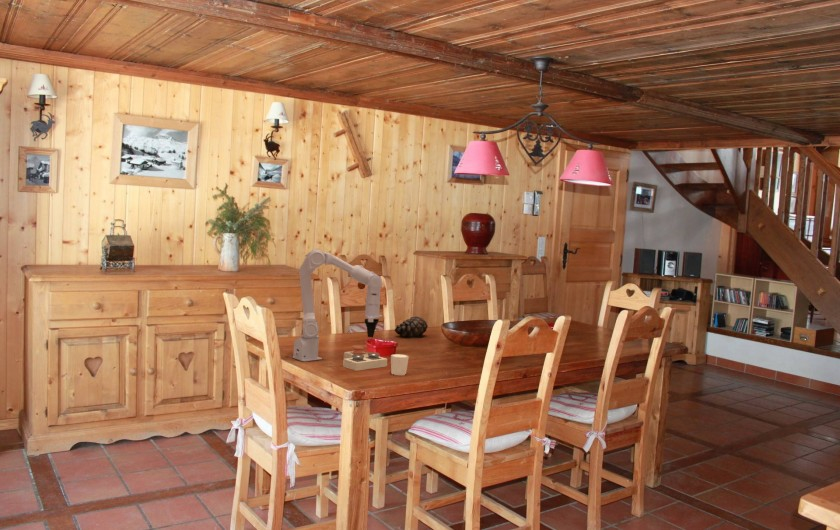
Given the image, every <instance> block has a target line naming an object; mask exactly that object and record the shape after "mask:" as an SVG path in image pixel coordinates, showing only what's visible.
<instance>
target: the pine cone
mask: <svg viewBox="0 0 840 530" xmlns="http://www.w3.org/2000/svg"><path fill="white" fill-rule="evenodd" d="M427 330H428V323H427V321H426V320H425V319H424V318H423V317H421V316H412V317H410V318H408V319H406V320H403V322H401V323H399V325H398V324H397V325H395V329H394V332H395V333H396V334H397V335H398V336H397V338H398V339H418V338H422V337H423V338H424V335H423V334H424V333H426V332H427Z"/></svg>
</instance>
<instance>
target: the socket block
mask: <svg viewBox="0 0 840 530" xmlns="http://www.w3.org/2000/svg"><path fill="white" fill-rule="evenodd" d="M368 353H369V352H365V351H363V355H364V358H363V361H361V362H355V361H353V358H352V355H353V350H352V351H344V352H343V361H342V367H343V368H347V369H349V370H352V371H355V372H357V371H363V370H364V371H365V370H372V369H378V368H385V367H388V358H385V357H382V356H380V355H379V356H378V359H376V360H371V359H368Z"/></svg>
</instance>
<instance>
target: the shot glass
mask: <svg viewBox="0 0 840 530" xmlns="http://www.w3.org/2000/svg"><path fill="white" fill-rule="evenodd" d="M408 364H409V355H408V354H402V353H395V354H391V355H390V367H391V368H390V371H391V375H393V374H394V376H405V374H407V371H408V370H407V369H408Z"/></svg>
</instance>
